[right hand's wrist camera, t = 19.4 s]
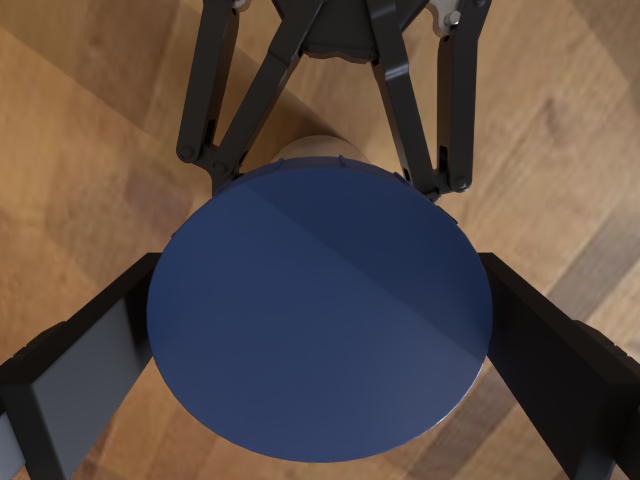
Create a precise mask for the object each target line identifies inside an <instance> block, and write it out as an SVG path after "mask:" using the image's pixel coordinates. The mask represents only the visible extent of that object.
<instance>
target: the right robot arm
mask: <svg viewBox="0 0 640 480" xmlns="http://www.w3.org/2000/svg"><path fill="white" fill-rule="evenodd" d="M477 254H478V256H479V258H480V260H481V263H482V265H483V267H484V270H485V272H486V275H487V279H488V283H489V287H490V290H491V297H492V307H493V322H492V334H491V339H490V344H489V348H488V352H487V356H488V358H489V359H490V361H491V362H492V364H493V365H494V367H495V368H496V370H497V371H498V373H499V374H500V376H501V377H502V379H503V380H504V382H505V383H506V385H507V386H508V388H509V389H510V391H511V392H512V394H513V395H514V397H515V398H516V400H517V401H518V403H519V404H520V406H521V407H522V409H523V410H524V411H525V413H526V414H527V416H528V417H529V419H530V420H531V422H532V423H533V425H534V426H535V428H536V429H537V431H538V432H539V434H540V435H541V437H542V438H543V440H544V441H545V443H546V444H547V446H548V447H549V449H550V450H551V452H552V453H553V455H554V456H555V458H556V459H557V461H558V462H559V464H560V465H561V467H562V468H563V470H564V471H565V473H566V474H567V476H568V477H569V479H570V480H609V479H610V476H611V474H612V471H613V469H614V466H615V464H617V465H618V466H619V467H620V468H621V470H622V471H623V472H624V473H625V474H626V476H627V477H628V478H629V479H630V480H640V364H639V363H638V362H637V361H635V360H634V359H633V358H632V357H630V356H627V353H626V352H624V351H623V350H622V349H621V348H619V347H618V346H614V343H613V342H612V341H611V340H609V339H608V338H607V337H606V336H604V335H603V334H602V333H601V332H599V331H598V330H596V329H594V328H592V327H590V326H588V325H586V324H585V323H583V322H581V321H579V320H571V319H570V318H569V317H568V316H567V315H566V314H564V313H563V312H562V311H561V310H560V309H558V308H557V307H556V306H555V305H554V304H553V303H551V302H550V301H549V300H548V299H547V298H545V297H544V296H543V295H542V294H541V293H540V292H538V291H537V290H536V289H535V288H534V287H532V286H531V285H530V284H529V283H528V282H527V281H525V280H524V279H523V278H522V277H521V276H519V275H518V274H517V273H516V272H515V271H514V270H512V269H511V268H510V267H509V266H508V265H506V264H505V263H504V262H503V261H502V260H501V259H499V258H498V257H497V256H496V255H495V254H493V253H477ZM161 255H162V253H147V254H145V255H144V256H143V257H142V258H141V259H139V260H138V261H137V262H136V263H135V264H134V265H132V266H131V267H130V268H129V269H128V270H126V271H125V272H124V273H123V274H122V275H121V276H119V277H118V278H117V279H116V280H115V281H113V282H112V283H111V284H110V285H109V286H108V287H106V288H105V289H104V290H103V291H102V292H100V293H99V294H98V295H97V296H96V297H95V298H93V299H92V300H91V301H90V302H89V303H87V304H86V305H85V306H84V307H83V308H82V309H80V310H79V311H78V312H77V313H76V314H74V315H73V316H72V317H71V318H70V319H69V320H67V321H62V322H60V323H58V324H56V325H54V326H53V327H51V328H49V329H47V330H45V331H43V332H41V333H40V334H39V335H38V336H36V337H35V338H34V339H33V340H31V341H30V342H29V343H28V344H27V346H26V347H23V348H22V349H20V350H19V351H18V352H17V353H15V354H14V355H13V358H9V359H8V360H7V361H6V362H4V363H3V364H2V365H1V366H0V480H12V479H13V478H14V476H15V475H16V474H17V473H18V472H19V470H20V469H21V468H22V467H23V466H24V464H25V466H26V469H27V471H28V474H29V476H30V479H31V480H70V479H71V477H72V476H73V474H74V473H75V471H76V470H77V468H78V467H79V465H80V464H81V462H82V461H83V459H84V458H85V456H86V455H87V453H88V452H89V450H90V449H91V447H92V446H93V444H94V443H95V441H96V440H97V438H98V437H99V435H100V434H101V432H102V431H103V429H104V428H105V426H106V425H107V423H108V422H109V420H110V419H111V417H112V416H113V414H114V413H115V411H116V410H117V409H118V407H119V406H120V404H121V403H122V401H123V400H124V398H125V397H126V395H127V394H128V392H129V391H130V389H131V388H132V386H133V385H134V383H135V382H136V380H137V379H138V377H139V376H140V374H141V373H142V371H143V370H144V368H145V367H146V365H147V364H148V362H149V361H150V359H151V358H152V356H153V354H152V351H151V348H150V343H149V337H148V332H147V314H146V307H147V300H148V292H149V287H150V283H151V280H152V277H153V273H154V270H155V267H156V265H157V263H158V261H159V259H160V257H161Z"/></svg>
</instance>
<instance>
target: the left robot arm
mask: <svg viewBox="0 0 640 480" xmlns="http://www.w3.org/2000/svg"><path fill="white" fill-rule="evenodd" d="M271 1H272V2H273V4H274V6H275V8H276V10H277V12H278V14H279V16H280V18H281V19H282V22H281V24H280V26H279V28H278V30H277V32H276V34H275V36H274V38H273V40H272V42H271V44H270V46H269V49H268V53H267V55H266V57H265V59H264V61H263V63H262V65H261V67H260V69H259V71H258V73H257V75H256V77H255V79H254V80H253V82H252V84H251V86H250V88H249V90H248V92H247V94H246V96H245V98H244V100H243V102H242V104H241V105H240V107H239V109H238V111H237V113H236V115H235V117H234V119H233V121H232V123H231V125H230V127H229V128H228V130H227V132H226V134H225V136H224V138H223V140H222V142H221V144H220V146H219V147H218V146H216V145H214V144H213V141H214V136H215V132H216V127H217V123H218V118H219V114H220V110H221V105H222V101H223V96H224V92H225V87H226V83H227V79H228V74H229V70H230V65H231V61H232V56H233V52H234V48H235V43H236V39H237V34H238V28H239V12H244V11H246V10H247V9H248V8H249V6H250V4H251V0H203V11H202V17H201V22H200V27H199V32H198V38H197V43H196V48H195V53H194V58H193V64H192V69H191V74H190V79H189V84H188V90H187V95H186V100H185V105H184V110H183V116H182V121H181V126H180V131H179V137H178V142H177V147H176V153H177V156H178V158H179V159H180V160H181V161H183V162H185V163H192V164H195V165H197V166H199V167H201V168H203V169H205V170H206V171H207V172H208V173H209V174H210V176H211V178H212V197H213V196H215V195H214V194H213V193H214V192H215V191H217V190H218V189H219V188H220V187H222V186H223V185H224V184H225V183H227V182H228V181H229V180H231V181H232V182H233V181H234V180H236V179H238V178H240V177H241V176H243V175H245V174H243V173H240V174H239V168H241V166H242V163H243V161H244V159H245V157H246V155H247V154H248V152H249V150H250V148H251V146H252V145H253V143H254V141H255V139H256V137H257V135H258V134H259V132H260V130H261V128H262V126H263V125H264V123H265V121H266V119H267V117H268V115H269V114H270V112H271V110H272V108H273V106H274V105H275V103H276V101H277V99H278V97H279V96H280V94H281V92H282V90H283V88H284V86H285V85H286V83H287V81H288V79H289V77H290V76H291V74H292V72H293V71H294V70H295V68H296V67H297V65H298V63H299V61H300V59H301V58H302V56H303V54H304V53H305V54H307V55H309V57H310V58H318V59H326V58H332V57H340V58H342V59H344V60H347V61H349V62H351V63H359V64H366V63H367V62H371V66H372V70H373V73H374V76H375V79H376V81H377V83H378V86H379V89H380V93H381V96H382V100H383V104H384V107H385V111H386V114H387V118H388V121H389V125H390V129H391V132H392V136H393V139H394V143H395V146H396V150H397V154H398V157H399V161H400V164H401V168H402V171H403V175H404V179H405V180H407V181H408V182H409V183H410V184H411V185H412V186H414V187H415V188H416V189H417V190H418V191H420V192H421V193H422V194H423V195H424V196H425V197H427V198H428V199H429V200H430V201H431V202H433V203H435V202H437V201H438V200H439V199H440V197H441V195H442V194H446V193H450V192H458V193H462V192H465V191H466V190H468V189H469V187H470V186H471V183H472V168H473V144H474V120H475V95H476V71H477V47H478V39H479V36H480V33H481V30H482V27H483V25H484V22H485V19H486V16H487V13H488V10H489V8H490V5H491V2H492V0H271ZM424 8H426V9H428V10H429V11H430V12H431V14H432V16H433V31H434V33H435V34H436V35H437V36H438V37H440V42H439V48H438V59H437V169H434V170H433V168H432V164H431V160H430V156H429V152H428V148H427V144H426V140H425V136H424V132H423V128H422V124H421V120H420V116H419V112H418V108H417V104H416V100H415V96H414V92H413V88H412V84H411V80H410V76H409V62H408V57H407V53H406V49H405V45H404V41H403V37H402V33H403V32H404V31H405V29H406V28H407V27H408V26H409V25H410V24H411V23H412V21H413V20H414V19H415V18H416V17H417V16H418V14H419V13H420V12H421V11H422V10H423V9H424Z"/></svg>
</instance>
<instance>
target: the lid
mask: <svg viewBox="0 0 640 480" xmlns="http://www.w3.org/2000/svg"><path fill="white" fill-rule="evenodd" d="M213 194H214V195H215V196H213V197H212V198H211V199H210V200H209V201H208V202H206V203H205V204H204V205H203V206H202V207H200V208H199V209H198V210H197V211H196V212H194V213H193V214H192V215H191V216H190V217H189V218H188V219H187V221H186V222H185V223H184V224H183V225H182V226H181V227H180V228H179V229H178V230H177V231H176V232H175V233H174V234H173V235H172V236H171V237H172V239H171V240H170V241H169V243H168V244H167V246H166V247H165V249H164V251H163V253H162V255H161V257H160V259H159V261H158V263H157V265H156V267H155V270H154V273H153V277H152V280H151V283H150V287H149V292H148V300H147V307H146V314H147V332H148V337H149V343H150V348H151V351H152V354H153V357H154V360H155V362H156V365H157V367H158V369H159V371H160V373H161V375H162V377H163V379H164V381H165V383H166V384H167V386H168V387H169V389H170V390H171V392H172V393H173V394H174V396H175V397H176V398H177V400H178V401H179V402H180V403H181V404H182V405H183V406H184V407H185V409H186V410H187V411H188V412H189V413H190V414H192V415H193V416H194V417H195V418H196V419H197V420H198V421H199V422H201V423H202V424H203V425H205V426H206V427H207V428H209V429H210V430H212V431H213V432H215V433H216V434H217V435H219V436H221V437H223V438H225V439H226V440H228V441H230V442H232V443H234V444H236V445H238V446H241V447H243V448H246V449H248V450H250V451H253V452H256V453H259V454H263V455H266V456H269V457H274V458H279V459H284V460H289V461H298V462H307V463H331V462H342V461H350V460H356V459H361V458H366V457H370V456H373V455H377V454H380V453H384V452H386V451H389V450H391V449H394V448H396V447H399V446H401V445H403V444H405V443H407V442H409V441H411V440H413V439H415V438H417V437H419V436H420V435H422V434H423V433H425V432H426V431H428V430H429V429H431V428H432V427H434V426H435V425H436V424H437V423H439V422H440V421H441V420H442V419H443V418H445V417H446V416H447V415H448V414H449V413H450V412H451V411H452V410H453V409H454V408H455V407H456V406H457V405H458V404H459V402H460V401H461V400H462V399H463V397H464V396H465V395H466V393H467V392H468V391H469V389H470V388H471V387H472V385H473V383H474V381H475V380H476V378H477V376H478V374H479V372H480V370H481V368H482V366H483V363H484V360H485V358H486V355H487V352H488V348H489V344H490V339H491V334H492V322H493V307H492V297H491V290H490V287H489V283H488V279H487V275H486V272H485V270H484V267H483V265H482V263H481V260H480V258H479V256H478V254H477V252H476V250H475V249H474V247H473V246H472V244H471V243H470V241H469V240H468V238H467V236H466V235H465V234H464V233H463V231H462V230H461V229H460V228H459V227H458V226H457V225H456V224H458V222H457V221H456V220H455V219H454V218H453V217H451V216H450V215H449V214H448V213H447V212H445V211H444V210H443V209H442V208H441V207H439V206H438V205H437V206H436V205H435V204H434V203H433V202H431V201H430V200H429V199H428V198H427V197H425V196H424V195H423V194H422V193H421V192H420V191H418V190H417V189H416V188H415V187H414V186H412V185H411V184H410V183H409V182H408V181H407V180H405V179H404V178H403V177H402V176H401V175H399V174H398V173H397V172H394V174H393V173H391V172H388V171H386V170H384V169H382V168H380V167H377V166H375V165H372V164H368V163H365V162H361V161H358V160H354V159H347V158H344V157H343V155H339V157H334V156H307V157H299V158H290V159H286V160H284V158H280V159H279V160H278V161H277V162H274V163H271V164H267V165H265V166H263V167H260V168H258V169H255V170H253V171H250V172H248V173H247V174H245V175H243V176H241V177H240V178H238V179H236V180H234V181H233V182H232V181H231V180H229V181H228V182H227V183H225V184H224V185H223V186H222V187H220V188H219V189H218V190H217V191H215V192H214V193H213Z"/></svg>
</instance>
